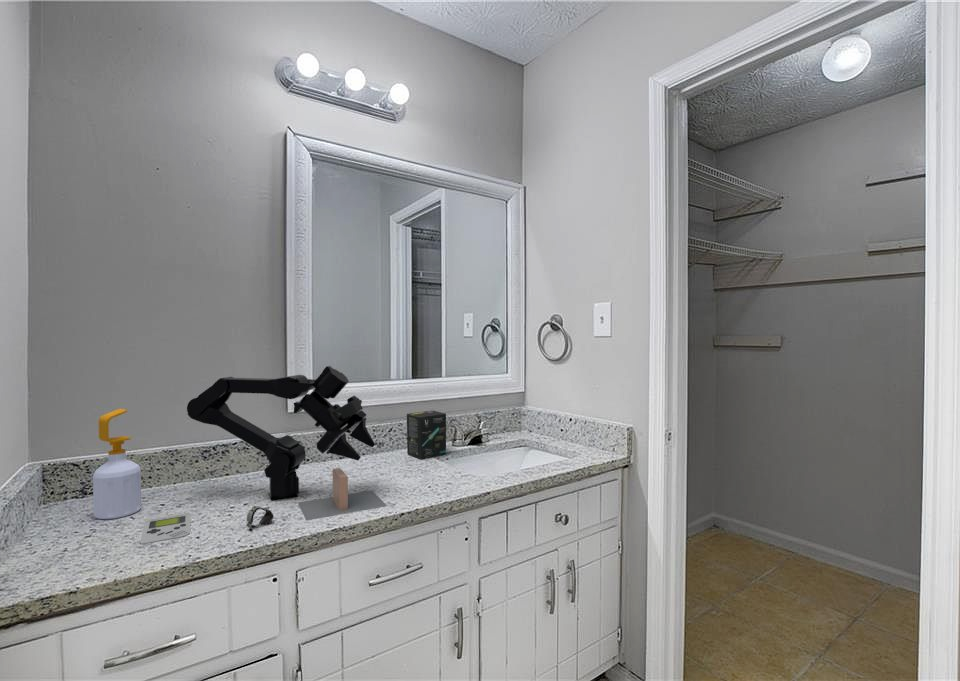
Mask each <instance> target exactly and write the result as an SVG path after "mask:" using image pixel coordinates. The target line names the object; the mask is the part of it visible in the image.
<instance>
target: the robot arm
mask: <svg viewBox="0 0 960 681" xmlns="http://www.w3.org/2000/svg"><path fill="white" fill-rule="evenodd" d="M348 383H350V382H349V379H348V377H347V376H346V375H345V374H344V373H343V372H341V371H339V370H338V369H335V368H333V367H332V366H331V365H328V366H325V367H324V369H323V370H322V371H321V373H320V374H319V376H317V377H316V379H313V378H311V379H309V378H307V377H306V376H305V375H303V374H297V375H290V376H283V377H277V378H264V377H261V378H258V377H257V378H256V377H233V376H226V377H219V379H217V380H216V381H215V382H214V383H213V384H212V385H211V386H209V388H208V387H207V389H206V390H204V391H202V392H201V393H200V394H199V395H198V396H197V397H193V398H191V400H189V402H188V403H187V406H186V411H187V416H188V417H189V418H190V419H192V420H194V421H197V422H199V423H202V424H206V425H214V426H217V427H219V428H221V429H223V430H225V431H226V432H228V433H229V434H231V435H233V436H234V437H236V438H238V439H239V440H241V441H243V442H245V443H246V444H248V445H250V446H252V447H253V448H255V449H257V450H259V451H260V452H262V453H263V454H264V455H265V457H266V458H267V460H268V462H269V464H268V466H266V467H265V468H264V469H263V470H264V471H263V472H264V474H265V476H266V478H269V492H268V496H269V500H270V502H276V501H282V500H288V499H295V498H298V497H299V495H298V494H299V493H300V479H299V476H298V474H297V472H296V471H297V470H298V469H299V468H300V465H301V463H302V462H304V461H305V459H306V450H305V447H304V446H303V445H302V444H301V443H302V441H299V440H296V439H295V438H293V437H292V436H291V435H289V434H286V435H284V436H282V437H281V438H280V437H276V436H274V435H272V434H270V433H269V432H267V431H265V430H264V429H262V428H261V427H259V426H257V425H255V424H253V423H252V422H250V421H248V420H246V419H245V418H243V417H241V416H240V415H238V414H236V413H234V412H233V411H232V410H231V408H230V407H229V406H228V403H226V402H228V400H229V399H230V397H231V396H232V394H233V393H235V394H236V393H237V394H264V395H265V394H266V395H267V394H268V395H272V396H275V397H277V398H282V399H288V400H294V399H296V398H300V397H302V398H301V399H300V400H299V401H295V402H293V414H299V413H300V412H302V411H304V412H305V413H306V414H307V415H308V416H309V417H310V418H312V420H314V422H315V424H314V426H315V427H316V428H319V427H320V426H321V428H323V429H324V430H325V431H326V432H325V433H324V434H323V435H322V437H320V439H319V440H318V441H317V442H316V449H317V450H318V452H320V453H321V454H324V453H326V454H327V455H329V454H333V455H336V456H340V457H344V458H347V459H351V460H355V461H359V460H360V459H362V458H361V455H360V454H359V453H358V452H357V451H356V450H355V449H354V447H353V446H352V445H351V444H350V443H349V442H348V441H347V435H346V433H347V434H349V435H348V436H349V437H351V438H354V439H355V440H357V441H359V442H361V443H362V444H364V445H366V446H368V447H371V448H373V447H375V445H376V443H375V441H374V440H373V437H372V435H371V434H370V432H369V431H368V429H367V427H366V426H367V425H366V421H367V414H366V412H365V411H363V406H362V402H363V400H362V399H360V398H359V397H357V396H356V395H353V396H351V397H349V398H348V399H347V400H346V402H347V403H346V404H344V405H342V406H340V404H338V403H335V404H334V405H333V404H332V403H331V402H330V401H329V399H335V398H336V397H337V396H338V395H339V394H340V392H342V390H343V389H344V388H345V387H346V386H347V385H348ZM311 390H312V391H311ZM309 391H311V393H310V394H309Z"/></svg>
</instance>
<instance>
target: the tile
mask: <svg viewBox="0 0 960 681" xmlns="http://www.w3.org/2000/svg"><path fill="white" fill-rule="evenodd" d="M348 481H349V477H348V475H347V474H346V473H345V472H344V471H343V470H342V469H341V467H338V468H337V467H335V468H332V497H333V501H334V503H335V504H336V505H337V507H338V508H339V510H345V509H348V493H349V488H348V487H349V486H348V484H349V482H348Z"/></svg>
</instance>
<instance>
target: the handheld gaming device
mask: <svg viewBox="0 0 960 681" xmlns="http://www.w3.org/2000/svg"><path fill="white" fill-rule="evenodd" d="M144 521H145V522H144V525H143V529H142V533H141V537H140V541H139V545H147V544H153V543H159V542H163V541H165V542H166V541H168V540H169V541H170V540H175V539H180V538H184V537H187V536H189V535H190V534H191V512H183V513H177V514H170V515H165V516H158V517H153V518H148V519H146V520H144Z"/></svg>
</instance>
